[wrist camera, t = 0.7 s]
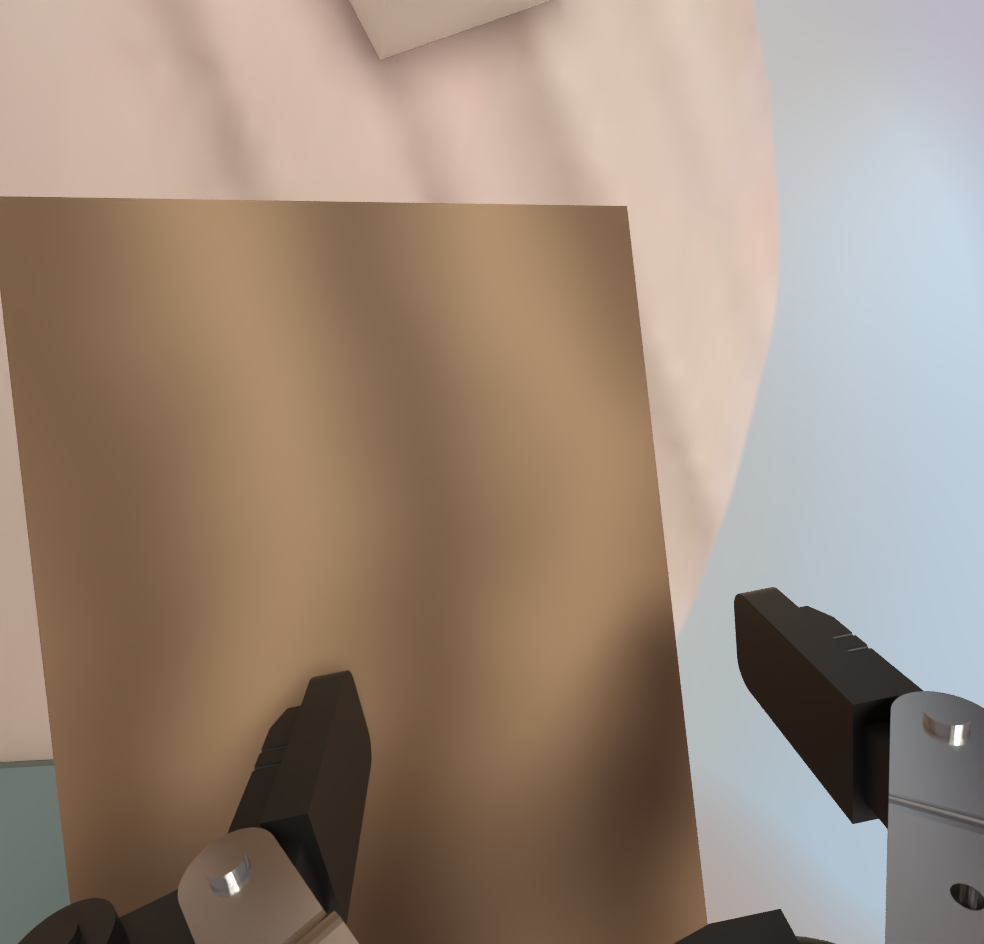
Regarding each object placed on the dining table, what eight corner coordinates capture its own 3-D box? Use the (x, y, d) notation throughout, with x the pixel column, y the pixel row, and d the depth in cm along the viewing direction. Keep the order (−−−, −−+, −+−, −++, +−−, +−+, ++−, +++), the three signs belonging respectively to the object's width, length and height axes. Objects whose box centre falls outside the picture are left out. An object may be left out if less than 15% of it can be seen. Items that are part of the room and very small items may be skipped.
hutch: (224, 791, 27) (101, 1175, 12) (176, 361, 27) (-11, 196, 12) (519, 722, 31) (709, 944, 16) (477, 345, 31) (626, 206, 16)
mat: (-50, 979, 24) (-60, 991, 23) (-30, 764, 24) (-39, 771, 24) (181, 947, 26) (178, 957, 26) (197, 751, 27) (194, 757, 26)
